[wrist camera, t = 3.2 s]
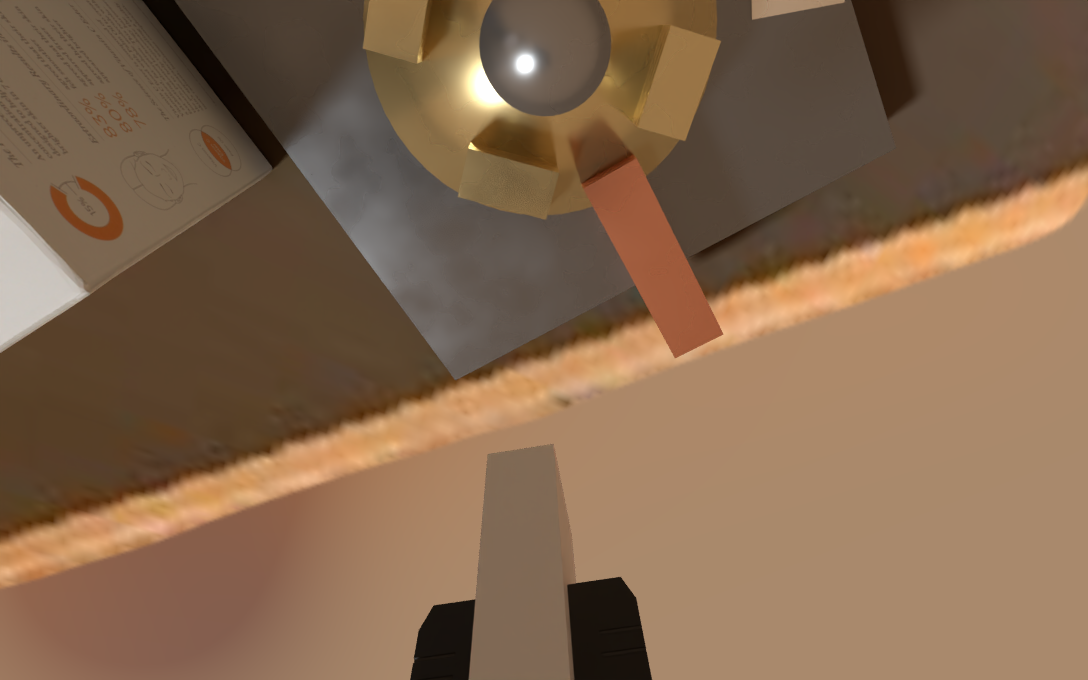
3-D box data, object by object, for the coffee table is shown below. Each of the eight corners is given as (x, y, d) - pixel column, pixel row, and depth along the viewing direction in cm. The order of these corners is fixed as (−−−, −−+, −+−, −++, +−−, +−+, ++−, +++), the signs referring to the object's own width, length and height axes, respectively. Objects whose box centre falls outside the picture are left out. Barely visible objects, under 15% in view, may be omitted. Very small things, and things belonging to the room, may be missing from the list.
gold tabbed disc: (310, -29, 21) (273, -37, 18) (608, -240, 19) (627, -292, 16) (566, 370, 28) (572, 416, 25) (803, 249, 26) (844, 282, 23)
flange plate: (460, 353, 31) (442, 456, 24) (148, -80, 23) (-24, -125, 15) (868, 135, 27) (996, 178, 20) (669, -485, 19) (764, -797, 11)
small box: (7, 72, 25) (-452, 123, 13) (129, -24, 23) (-257, -64, 12) (164, 246, 28) (-88, 412, 16) (279, 171, 27) (94, 291, 15)
